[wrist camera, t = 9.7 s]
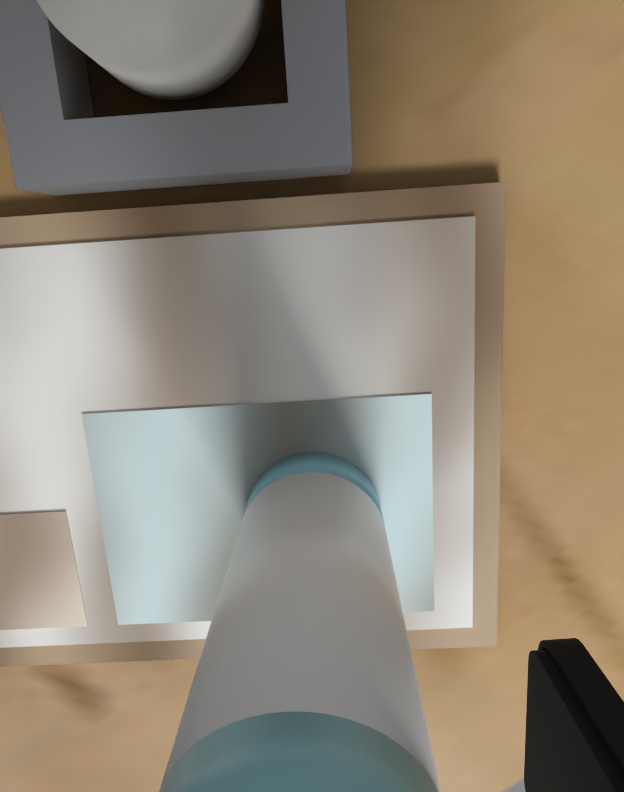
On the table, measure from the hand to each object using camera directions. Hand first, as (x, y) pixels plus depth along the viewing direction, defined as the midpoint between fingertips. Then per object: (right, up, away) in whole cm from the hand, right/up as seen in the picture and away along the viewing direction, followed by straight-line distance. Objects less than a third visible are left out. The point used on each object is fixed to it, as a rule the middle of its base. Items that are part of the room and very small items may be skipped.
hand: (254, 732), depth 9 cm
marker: (+1, +2, +8) cm, 8 cm away
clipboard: (-4, +4, +8) cm, 9 cm away
